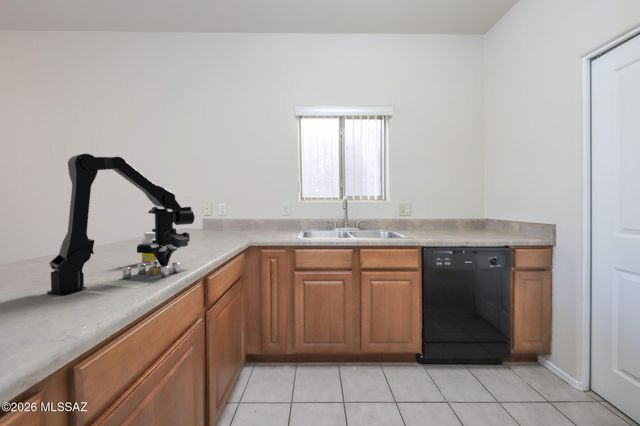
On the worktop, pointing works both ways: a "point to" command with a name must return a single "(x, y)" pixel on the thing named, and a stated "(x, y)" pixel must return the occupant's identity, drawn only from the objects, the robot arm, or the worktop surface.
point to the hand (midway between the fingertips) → (164, 268)
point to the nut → (155, 271)
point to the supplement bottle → (145, 256)
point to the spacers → (142, 267)
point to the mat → (140, 280)
